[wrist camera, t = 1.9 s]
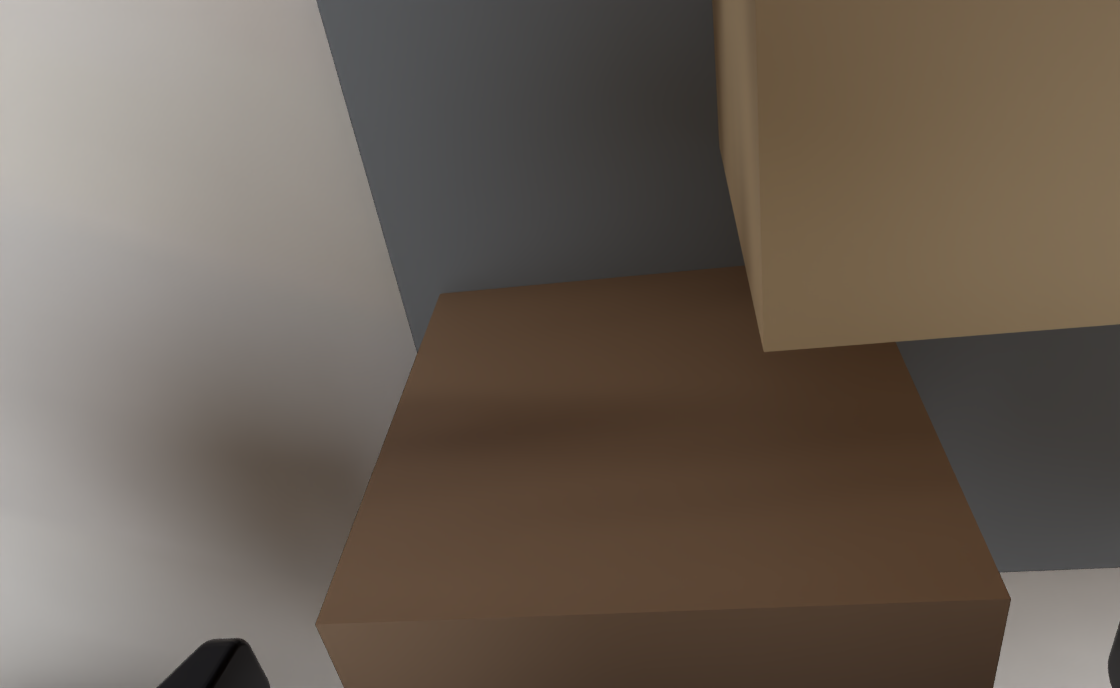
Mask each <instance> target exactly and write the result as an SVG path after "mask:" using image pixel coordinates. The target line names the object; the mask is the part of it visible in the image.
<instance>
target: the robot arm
mask: <svg viewBox="0 0 1120 688" xmlns="http://www.w3.org/2000/svg"><path fill="white" fill-rule="evenodd" d="M1108 673H1109V678H1110V683H1111V686H1112V688H1120V623H1119V626H1118V629H1117V632H1116V636H1115V639H1114V642H1113V645H1112V649H1111V652H1110V655H1109V660H1108ZM157 688H270V685H269V681H268V679H267V677H266V675H265V673H264V672H263V670H262V668H261V666H260V664H259V662H258V660H257V658H256V656H255V654H254V653H253V651H252V649H251V647H250V645H249V644H248V642H246V641H245V640H243V639H240V638H230V639H213V640H209V641H207V642H205V643H204V644H202V645H201V646H200V647H198V648H197V649H196V650H195V651H194V652H193V653H192V654H191V655H190V656H189V657H188V658H187V659H186V660H185V661H184V662H183V663H182V664H181V665H180V666H179V667H178V668H177V669H176V670H174V671H173V672H172V673H171V674H170V675H169V676H168V677H167V678H166V679H165V680H164V681H163V682H162V683H161V684H160V685H159V686H158V687H157Z"/></svg>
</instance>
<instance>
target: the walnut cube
mask: <svg viewBox="0 0 1120 688" xmlns="http://www.w3.org/2000/svg"><path fill="white" fill-rule="evenodd" d="M1010 601H1011V598H1010V596H1009V593H1008V591H1007V589H1006V587H1005V585H1004V582H1003V580H1002V578H1001V576H1000V573H999V571H998V569H997V567H996V565H995V562H994V560H993V558H992V556H991V553H990V551H989V549H988V547H987V544H986V542H985V540H984V538H983V536H982V533H981V531H980V529H979V527H978V524H977V522H976V520H975V518H974V516H973V513H972V511H971V509H970V507H969V504H968V502H967V500H966V498H965V496H964V493H963V491H962V489H961V487H960V484H959V482H958V480H957V478H956V476H955V473H954V471H953V469H952V467H951V464H950V462H949V460H948V458H947V456H946V453H945V451H944V449H943V447H942V444H941V442H940V440H939V438H938V436H937V433H936V431H935V429H934V427H933V424H932V422H931V420H930V418H929V415H928V413H927V411H926V409H925V407H924V404H923V402H922V400H921V398H920V395H919V393H918V391H917V389H916V387H915V384H914V382H913V380H912V378H911V375H910V373H909V371H908V369H907V367H906V364H905V362H904V360H903V358H902V355H901V353H900V351H899V349H898V347H897V344H896V342H886V343H874V344H861V345H848V346H835V347H823V348H810V349H797V350H784V351H771V352H764V351H763V346H762V342H761V337H760V333H759V328H758V323H757V319H756V314H755V309H754V305H753V300H752V296H751V291H750V286H749V282H748V277H747V272H746V268H745V266H734V267H723V268H712V269H702V270H691V271H680V272H669V273H659V274H648V275H637V276H626V277H615V278H605V279H594V280H583V281H572V282H562V283H551V284H540V285H529V286H518V287H508V288H497V289H486V290H475V291H464V292H454V293H443V294H440V295H439V298H438V300H437V303H436V306H435V308H434V311H433V314H432V316H431V319H430V322H429V324H428V327H427V329H426V332H425V335H424V337H423V340H422V343H421V345H420V348H419V351H418V353H417V356H416V359H415V361H414V364H413V367H412V369H411V372H410V375H409V377H408V380H407V382H406V385H405V388H404V390H403V393H402V396H401V398H400V401H399V404H398V406H397V409H396V412H395V414H394V417H393V420H392V422H391V425H390V428H389V430H388V433H387V435H386V438H385V441H384V443H383V446H382V449H381V451H380V454H379V457H378V459H377V462H376V465H375V467H374V470H373V473H372V475H371V478H370V481H369V483H368V486H367V488H366V491H365V494H364V496H363V499H362V502H361V504H360V507H359V510H358V512H357V515H356V518H355V520H354V523H353V526H352V528H351V531H350V534H349V536H348V539H347V541H346V544H345V547H344V549H343V552H342V555H341V557H340V560H339V563H338V565H337V568H336V571H335V573H334V576H333V579H332V581H331V584H330V587H329V589H328V592H327V594H326V597H325V600H324V602H323V605H322V608H321V610H320V613H319V616H318V618H317V621H316V624H315V625H316V627H317V629H318V632H319V634H320V636H321V638H322V640H323V643H324V645H325V647H326V649H327V651H328V654H329V656H330V658H331V660H332V662H333V664H334V667H335V669H336V671H337V673H338V675H339V678H340V680H341V682H342V684H343V686H344V688H993V685H994V681H995V676H996V671H997V666H998V661H999V656H1000V651H1001V646H1002V641H1003V636H1004V631H1005V626H1006V621H1007V616H1008V611H1009V606H1010Z"/></svg>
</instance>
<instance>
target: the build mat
mask: <svg viewBox="0 0 1120 688" xmlns="http://www.w3.org/2000/svg"><path fill="white" fill-rule="evenodd" d="M316 1H317V4H318V8H319V11H320V15H321V18H322V22H323V25H324V29H325V32H326V36H327V39H328V43H329V46H330V50H331V53H332V57H333V60H334V64H335V67H336V71H337V74H338V78H339V81H340V85H341V88H342V92H343V95H344V99H345V102H346V106H347V109H348V113H349V116H350V120H351V123H352V127H353V130H354V134H355V137H356V141H357V144H358V148H359V151H360V155H361V158H362V162H363V165H364V169H365V172H366V176H367V179H368V183H369V186H370V189H371V193H372V196H373V200H374V203H375V207H376V210H377V214H378V217H379V221H380V224H381V228H382V231H383V235H384V238H385V242H386V245H387V249H388V252H389V256H390V259H391V263H392V266H393V270H394V273H395V277H396V280H397V284H398V287H399V291H400V294H401V298H402V301H403V305H404V308H405V312H406V315H407V319H408V322H409V326H410V329H411V333H412V336H413V340H414V343H415V347H416V350H417V353H418V351H419V348H420V345H421V343H422V340H423V337H424V335H425V332H426V329H427V327H428V324H429V322H430V319H431V316H432V314H433V311H434V308H435V306H436V303H437V300H438V298H439V295H440V294H443V293H454V292H464V291H475V290H486V289H497V288H508V287H518V286H529V285H540V284H551V283H562V282H572V281H583V280H594V279H605V278H615V277H626V276H637V275H648V274H659V273H669V272H680V271H691V270H702V269H712V268H723V267H734V266H745V263H744V258H743V254H742V249H741V245H740V240H739V235H738V231H737V226H736V221H735V217H734V212H733V207H732V203H731V198H730V194H729V189H728V184H727V180H726V175H725V170H724V166H723V161H722V156H721V152H720V147H719V129H718V108H717V88H716V68H715V48H714V27H713V7H712V0H316ZM896 344H897V347H898V349H899V351H900V353H901V355H902V358H903V360H904V362H905V364H906V367H907V369H908V371H909V373H910V375H911V378H912V380H913V382H914V384H915V387H916V389H917V391H918V393H919V395H920V398H921V400H922V402H923V404H924V407H925V409H926V411H927V413H928V415H929V418H930V420H931V422H932V424H933V427H934V429H935V431H936V433H937V436H938V438H939V440H940V442H941V444H942V447H943V449H944V451H945V453H946V456H947V458H948V460H949V462H950V464H951V467H952V469H953V471H954V473H955V476H956V478H957V480H958V482H959V484H960V487H961V489H962V491H963V493H964V496H965V498H966V500H967V502H968V504H969V507H970V509H971V511H972V513H973V516H974V518H975V520H976V522H977V524H978V527H979V529H980V531H981V533H982V536H983V538H984V540H985V542H986V544H987V547H988V549H989V551H990V553H991V556H992V558H993V560H994V562H995V565H996V567H997V569H998V571H999V572H1020V571H1045V570H1069V569H1093V568H1118V567H1120V324H1116V325H1103V326H1090V327H1078V328H1065V329H1052V330H1039V331H1027V332H1014V333H1001V334H988V335H976V336H963V337H950V338H937V339H925V340H912V341H899V342H896Z"/></svg>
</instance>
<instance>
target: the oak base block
mask: <svg viewBox="0 0 1120 688" xmlns="http://www.w3.org/2000/svg"><path fill="white" fill-rule="evenodd" d="M712 7H713V27H714V48H715V68H716V88H717V108H718V129H719V147H720V152H721V156H722V161H723V166H724V170H725V175H726V180H727V184H728V189H729V194H730V198H731V203H732V207H733V212H734V217H735V221H736V226H737V231H738V235H739V240H740V245H741V249H742V254H743V258H744V263H745V268H746V272H747V277H748V282H749V286H750V291H751V296H752V300H753V305H754V309H755V314H756V319H757V323H758V328H759V333H760V337H761V342H762V346H763V351H764V352H771V351H784V350H797V349H810V348H823V347H835V346H848V345H861V344H874V343H886V342H899V341H912V340H925V339H937V338H950V337H963V336H976V335H988V334H1001V333H1014V332H1027V331H1039V330H1052V329H1065V328H1078V327H1090V326H1103V325H1116V324H1120V0H712Z"/></svg>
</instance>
